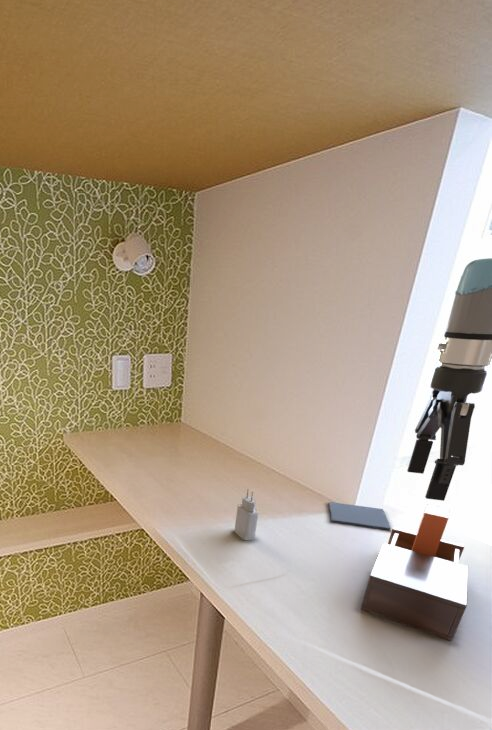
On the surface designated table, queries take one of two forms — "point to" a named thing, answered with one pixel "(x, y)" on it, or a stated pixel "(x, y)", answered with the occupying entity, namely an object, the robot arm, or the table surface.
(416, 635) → the table surface
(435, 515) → the reddish brown rectangular block
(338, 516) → the felt mat
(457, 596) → the cabinet
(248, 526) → the power adapter
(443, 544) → the drawer
